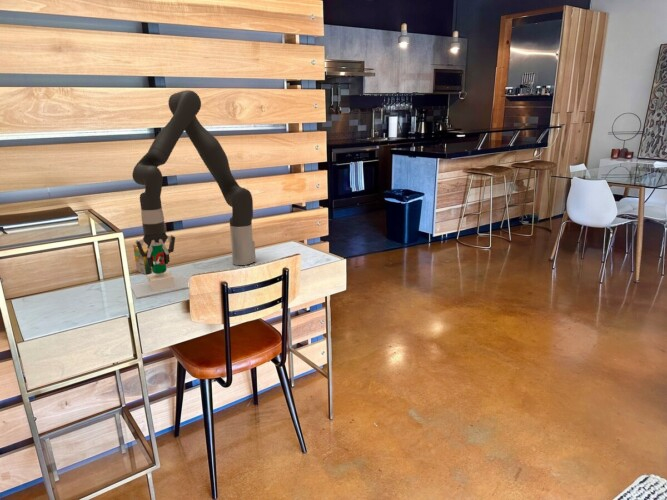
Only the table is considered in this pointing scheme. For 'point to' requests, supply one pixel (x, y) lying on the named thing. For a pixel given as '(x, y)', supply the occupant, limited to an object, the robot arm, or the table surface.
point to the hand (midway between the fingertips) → (158, 264)
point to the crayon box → (141, 262)
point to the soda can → (158, 258)
